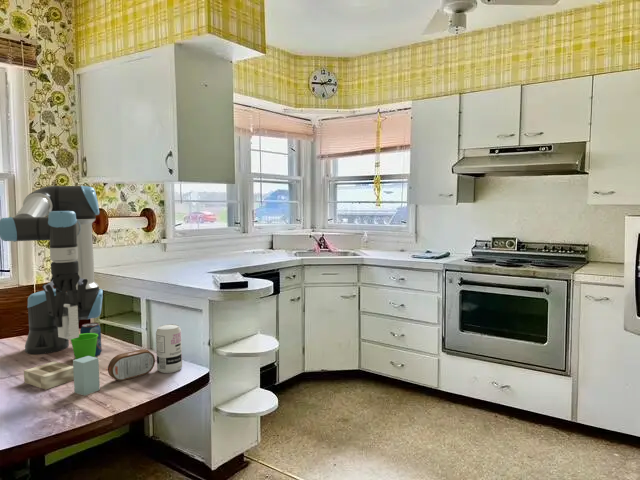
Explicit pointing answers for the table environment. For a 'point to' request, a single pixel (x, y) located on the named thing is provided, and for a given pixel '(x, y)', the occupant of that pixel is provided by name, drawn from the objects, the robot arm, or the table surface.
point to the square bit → (86, 375)
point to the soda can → (93, 329)
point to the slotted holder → (49, 375)
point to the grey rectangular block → (71, 321)
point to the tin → (131, 364)
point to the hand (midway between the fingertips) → (68, 335)
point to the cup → (84, 345)
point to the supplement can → (169, 348)
